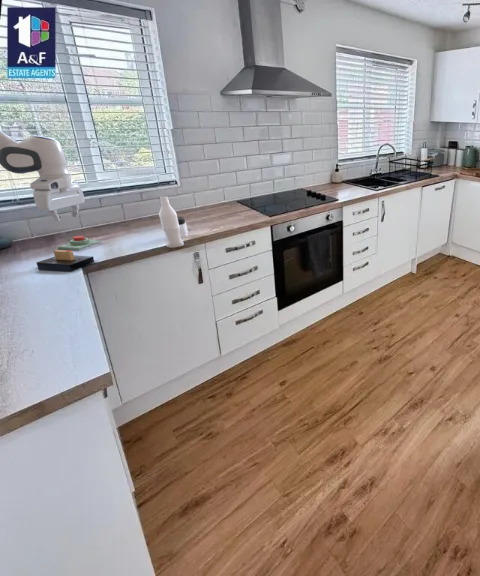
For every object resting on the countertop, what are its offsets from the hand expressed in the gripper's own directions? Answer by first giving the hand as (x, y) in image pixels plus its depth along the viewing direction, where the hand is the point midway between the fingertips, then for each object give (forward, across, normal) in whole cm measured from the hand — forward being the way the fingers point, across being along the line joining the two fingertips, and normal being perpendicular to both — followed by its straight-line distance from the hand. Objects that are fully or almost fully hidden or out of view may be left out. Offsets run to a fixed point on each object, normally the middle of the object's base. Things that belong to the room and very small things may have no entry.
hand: (67, 218), depth 144 cm
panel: (+19, +2, -3) cm, 19 cm away
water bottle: (+19, -23, +28) cm, 41 cm away
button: (+15, -24, -15) cm, 32 cm away
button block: (+19, -24, -15) cm, 34 cm away
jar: (+19, -38, +24) cm, 48 cm away
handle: (+16, +2, -3) cm, 17 cm away
